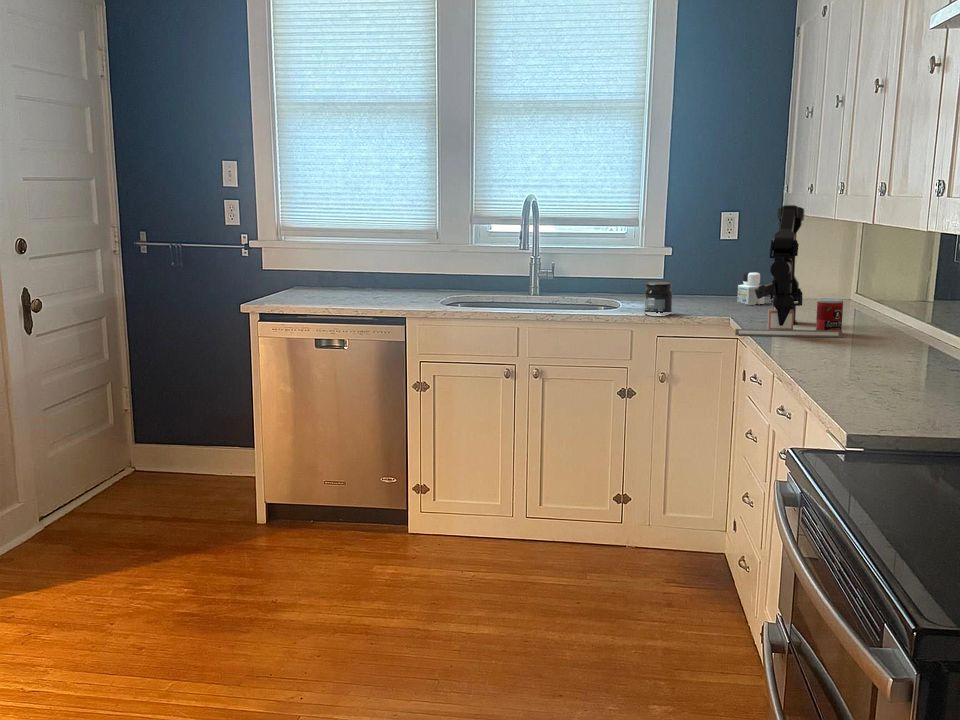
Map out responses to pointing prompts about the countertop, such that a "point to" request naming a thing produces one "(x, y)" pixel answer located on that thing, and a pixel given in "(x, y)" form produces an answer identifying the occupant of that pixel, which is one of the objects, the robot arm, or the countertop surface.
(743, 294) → the container
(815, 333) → the price rail
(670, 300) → the supplement container
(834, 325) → the canned food
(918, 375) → the countertop surface
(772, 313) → the salmon pink block
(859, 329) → the countertop surface
